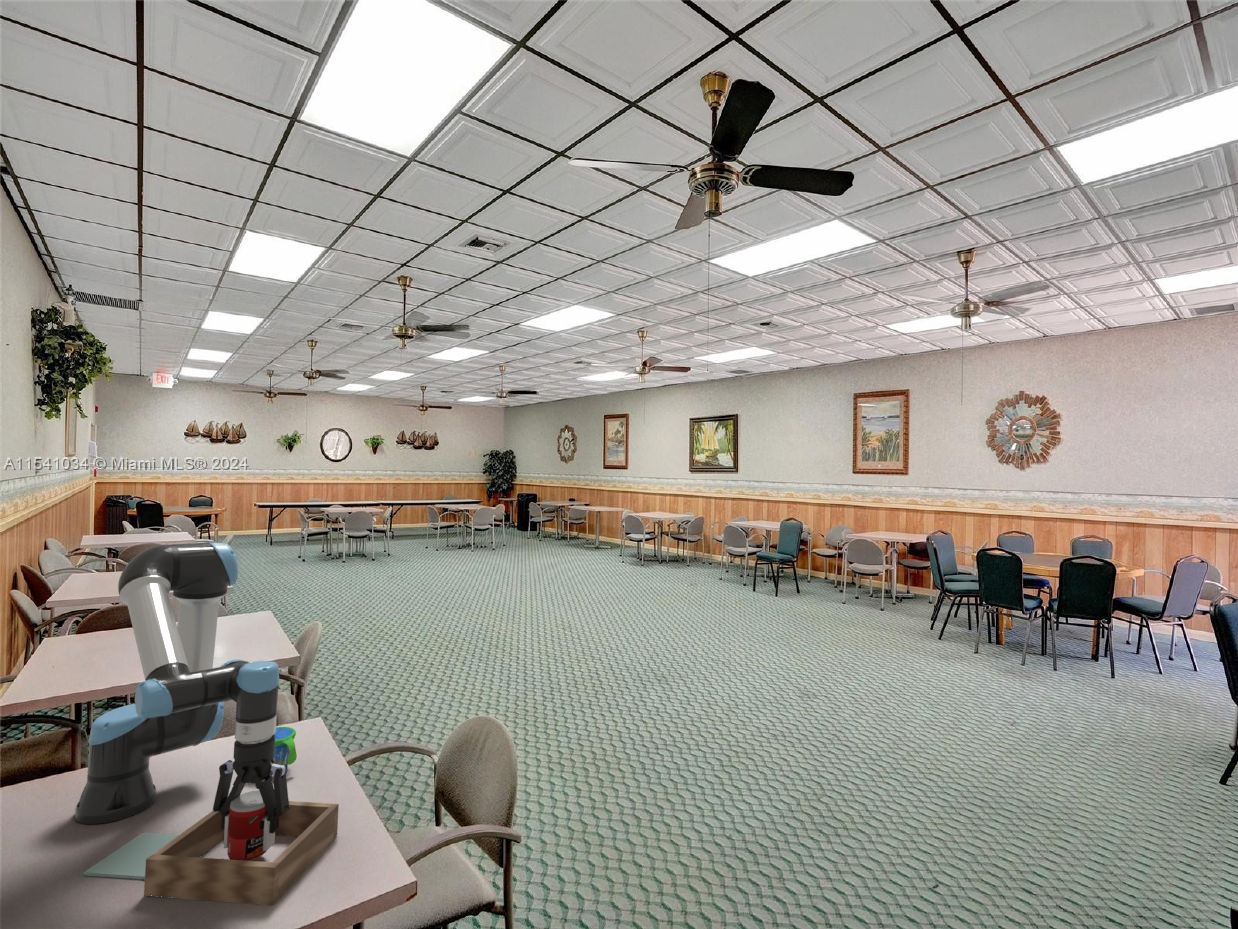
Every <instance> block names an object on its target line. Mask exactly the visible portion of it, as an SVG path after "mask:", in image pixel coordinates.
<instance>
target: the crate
mask: <svg viewBox="0 0 1238 929" xmlns="http://www.w3.org/2000/svg"><path fill="white" fill-rule="evenodd" d="M338 824H339V803H330V802H329V803H326V802H311V801H310V802H309V801H296V800H295V801H293V800H289V809H288V810H287V811H286V812H285V813H284V814H283V815H282V816H279V828H278V830H277V831H275V836H280V837H281V836H283V837H295V840H293V841H292V842H291V843H290V844H289V845H288V846H287V847H286V848H285V849H284V850H283V851H282V852H281V853H280V854H279V855H278V856H277V857H276V858H275V859H274V860H273V861H272V862H271V861H259V860H257V861H256V860H251V861H245V860H230V859H228V858H225V859H224V858H213V857H212V858H210V857H203V856H204V855H205V854H206V853H207V852H208V851H210V850H211V849H212V848H214V847H215V846H216V845H217V844H218V843H219V842H221V841H222V840H224V830H222V827H221V826H222V815H221V813H220V812H218V811H217V812H214V811H213V810H212V811H211V812H209V813H208V814H206V815H205V816H204V817H202V818H200V819H199V820H198V821H197V822H195V823H194V824H193V825H190V827H188V828H187V829H186V830H184V831H183V832H181V833H180V834H178V835H179V836H177V837H176V838H175V839H173V840H172V841H170V842H169V843H168V844H166V845H165V846H164V847H162V848H161V849H159V850H158V851H157V852H155V853H154V854H153V855H151V856H150V857H148V858H147V859H146V868H145V880H144V886H143V887H144V889H143V897H147V896H151V895H152V896H158V897H157V898H162V897H173V898H172V899H176V898H180V899H179V900H192V901H193V900H194V901H205V902H208V901H209V902H220V903H233V904H234V903H235V904H247V903H250V904H249V905H261V906H262V905H264V906H274V905H275V903H277V901H278V900H279V899H281V897H282V896H283V895H284V894H285V893H286V892H287V890H289V888H291V886H292V885H293V884H294V883H295V882H296V881H297V880H298V879H299V877H300V876H301V875H302V874H303V873H304V872H305V871H306V870H307V869H308V868H309V867H310V865H311V864H312V863H313V862H314V861H315V860H316V859H317V858H318V857H319V856H318V855H321V854H322V852H323V851H324V850H325V849H326V848H327V847H328V846H329V845H330V844H331V842H332V841H334V839H335V838H336V837H337V836H338V829H339V825H338ZM336 835H337V836H336ZM335 836H336V837H335ZM296 837H297V838H296ZM333 838H334V839H333ZM329 843H330V844H329ZM214 845H215V846H214ZM327 845H328V846H327ZM209 849H210V850H209ZM205 852H206V853H205ZM204 853H205V854H204ZM200 856H201V857H200ZM161 896H162V897H161Z"/></svg>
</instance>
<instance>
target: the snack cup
mask: <svg viewBox="0 0 1238 929" xmlns="http://www.w3.org/2000/svg"><path fill="white" fill-rule="evenodd" d="M274 735H275V751H274V754H273V760H274V762H275V764H278V765H283V764H287V765H288V766H289V765H292V764H294V763H295V761H296V760H297V750H296V748H297V747H296V743H295V740H294V739H295V738H296V735H297V731H296V729H295V728H293V727H289V726H276V732H275V734H274ZM270 773H271V776H272V774H273V772H272V771H271V772H270Z"/></svg>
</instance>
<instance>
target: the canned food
mask: <svg viewBox="0 0 1238 929" xmlns="http://www.w3.org/2000/svg"><path fill="white" fill-rule="evenodd" d="M267 817H268V814H267V811H266V808H265V804H264V802H263V800H262V797H261V794H260V791H259V789H256V790H251V791H247V792H244V793H241V794H240V796H238V797H237V798H236V799H234V800H233V801H231V804H230V813H229V832H228V848H227V851H226V852H227V856H228V858H229V859H230V860H245V861H255V860H256V859H259V858H260V857H262V856H264V854H266V853H267V851H263V838H264V820H265V819H266V818H267Z"/></svg>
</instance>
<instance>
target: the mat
mask: <svg viewBox="0 0 1238 929" xmlns="http://www.w3.org/2000/svg"><path fill="white" fill-rule="evenodd" d="M179 835H180V834H171V833H159V832H157V833H156V832H142V833H141V834H139V835H137V836H136V837H133V839H131V840H130V841H128V842H127V843H126V844H124V845H122V846H121V847H120V848H117V849H116V850H115V851H113V852H112V853H111V854H109V855H108V856H106V857H104V858H103V859H101V860H100V861H98V862H97V863H96V864H94V865H93V866H90V868H88V869H87V870H85V871H83V876H86V877H87V876H88V877H100V878H114V879H128V880H129V879H130V878H131V879H130V880H143V879H145V868H146V859H147V858H148V857H150V856H151V855H153V854H154V853H155V852H157V851H158V850H159V849H161V848H162V847H164V846H165V845H166V844H168V843H169V842H170V841H172V840H173V839H175V838H176V837H177V836H179ZM134 878H135V879H134Z"/></svg>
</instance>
